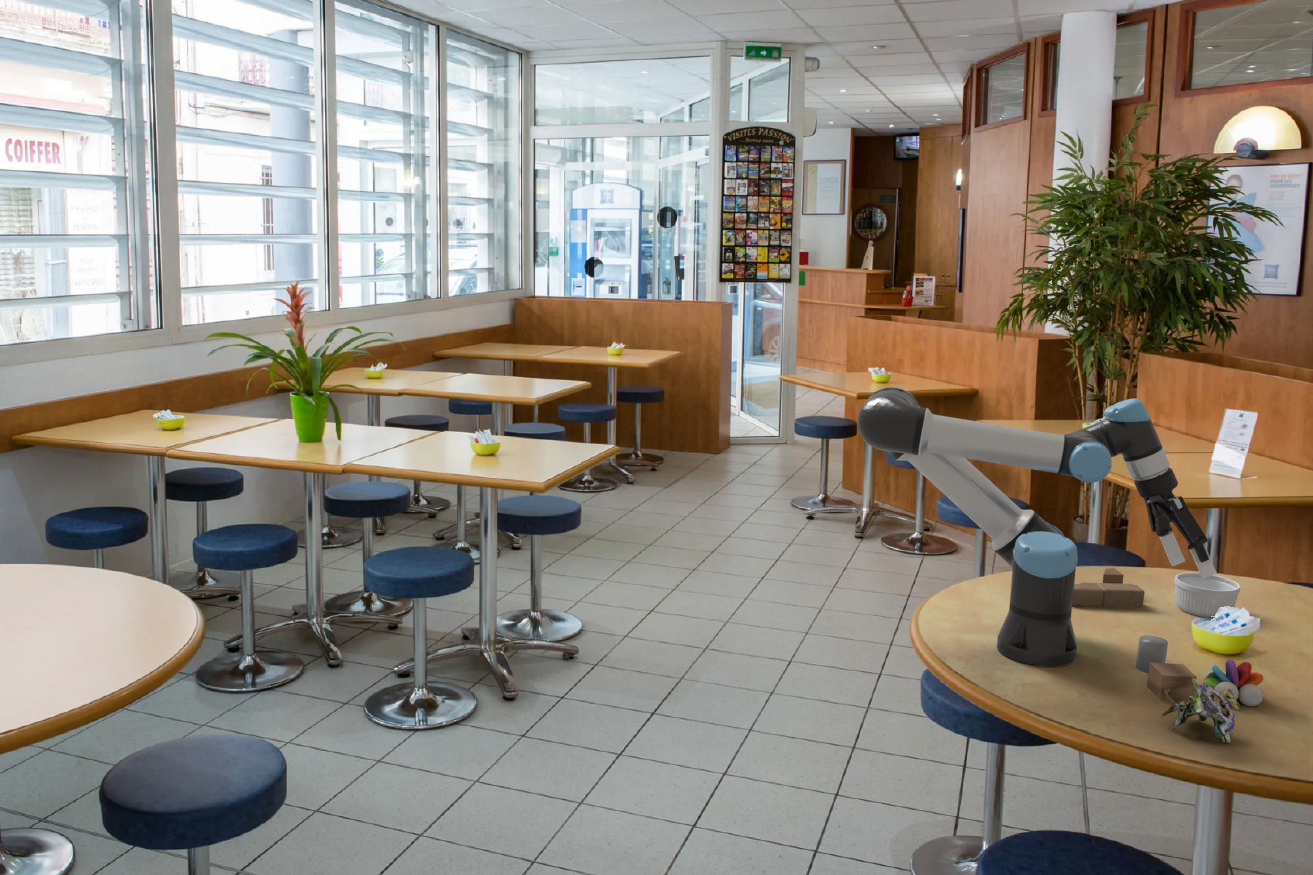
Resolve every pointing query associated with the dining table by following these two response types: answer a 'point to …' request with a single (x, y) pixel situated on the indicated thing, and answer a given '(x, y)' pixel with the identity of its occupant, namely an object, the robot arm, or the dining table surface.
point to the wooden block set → (1109, 592)
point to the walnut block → (1170, 681)
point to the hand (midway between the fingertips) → (1193, 569)
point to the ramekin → (1204, 593)
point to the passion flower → (1207, 709)
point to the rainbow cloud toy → (1237, 682)
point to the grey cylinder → (1151, 652)
